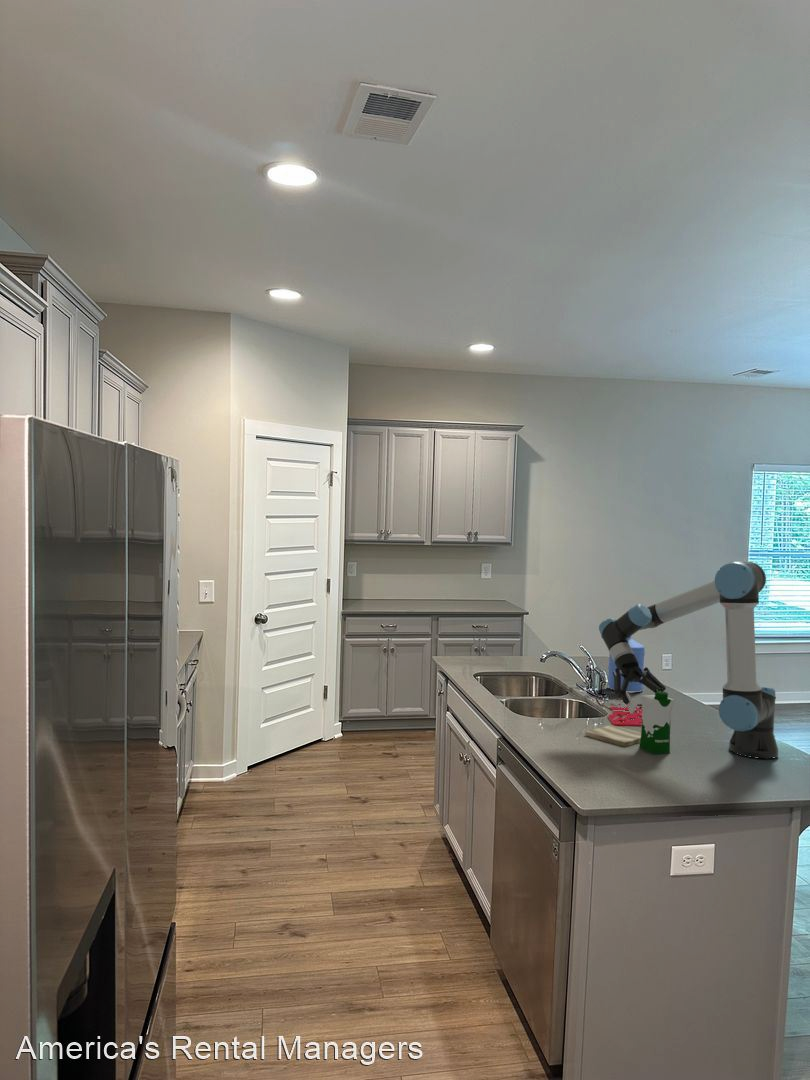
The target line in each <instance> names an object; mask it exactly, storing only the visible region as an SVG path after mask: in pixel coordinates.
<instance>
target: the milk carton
mask: <svg viewBox="0 0 810 1080" xmlns="http://www.w3.org/2000/svg"><path fill="white" fill-rule="evenodd" d="M668 696H669V693H668V692H667V691H663V692H662V691H658V690H657V691H656V692H655V693H654V694H642V695H641V694H640V699H641V700H640V701H642V708H641V709H642V717H641V718H642V727H641V730H640V733H641V739H640V743H639V747H638V748H639V749H640V750H643V751H645V752H647V753H649V754H651V755H656V754H658V755H661V754H671V725H672V724H671V723H672V720H671V719H672V710H673V706H674V702H675V699H673V698H670V697H668Z"/></svg>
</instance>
